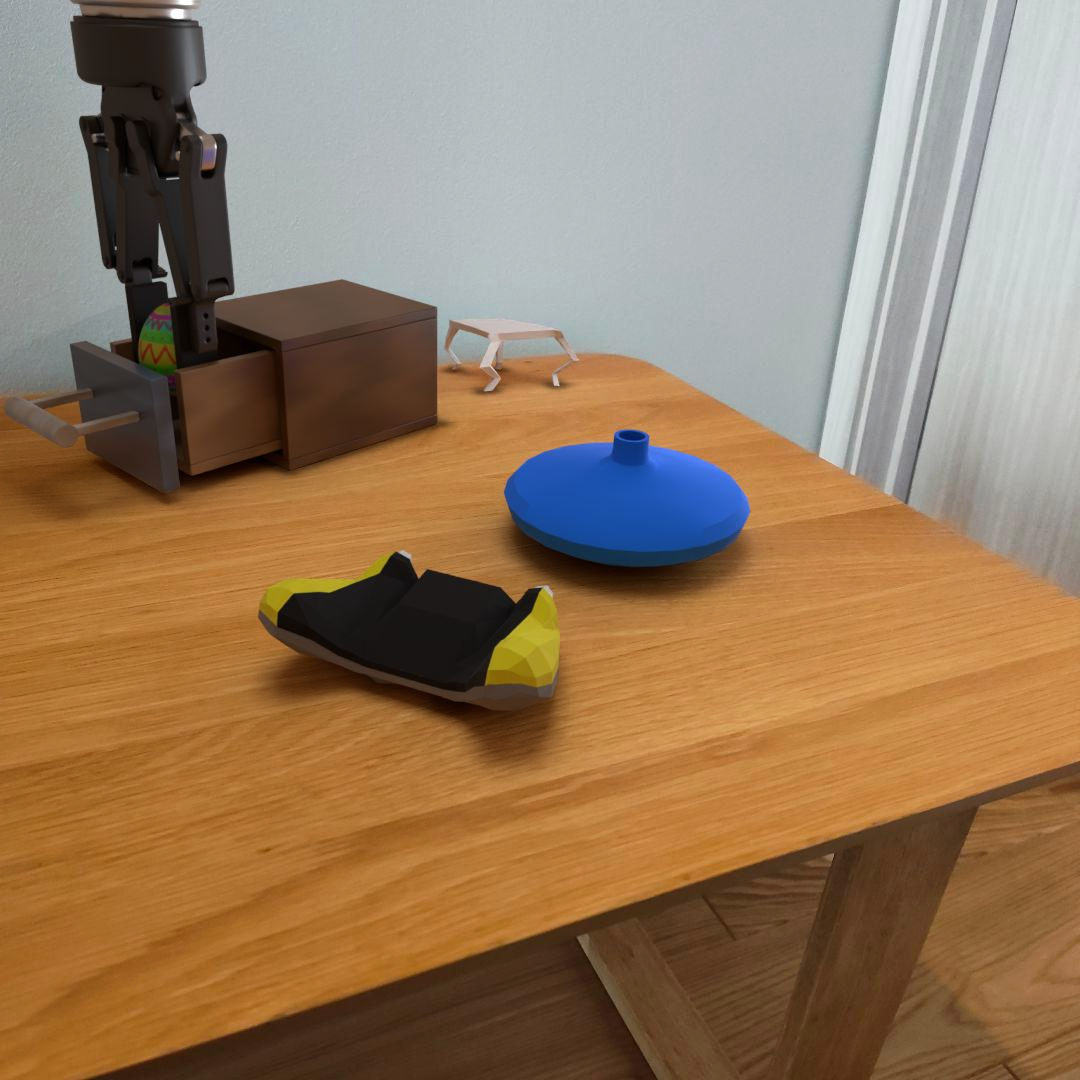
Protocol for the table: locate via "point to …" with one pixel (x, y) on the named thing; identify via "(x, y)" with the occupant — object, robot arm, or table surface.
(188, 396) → the drawer
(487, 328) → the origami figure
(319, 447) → the cabinet
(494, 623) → the black and yellow shoe
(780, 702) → the table surface
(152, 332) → the egg
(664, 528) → the vase
